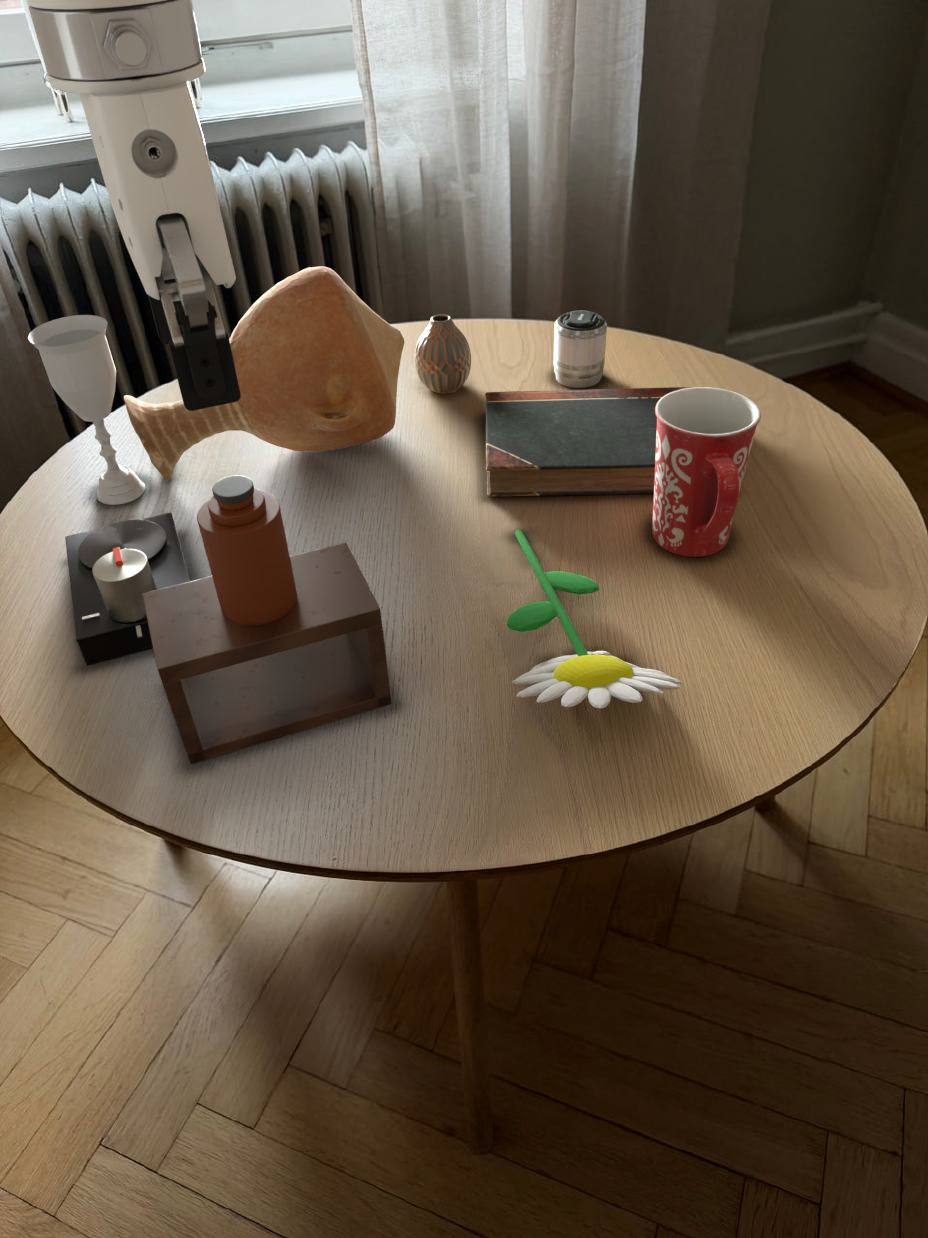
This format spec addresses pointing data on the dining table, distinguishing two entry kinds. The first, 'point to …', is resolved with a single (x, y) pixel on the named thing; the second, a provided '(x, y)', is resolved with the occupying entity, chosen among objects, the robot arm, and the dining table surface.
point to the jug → (293, 376)
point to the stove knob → (124, 583)
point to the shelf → (270, 657)
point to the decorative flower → (577, 651)
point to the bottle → (247, 552)
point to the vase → (442, 356)
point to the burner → (123, 540)
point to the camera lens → (579, 348)
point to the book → (572, 441)
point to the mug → (700, 467)
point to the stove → (91, 618)
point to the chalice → (87, 389)
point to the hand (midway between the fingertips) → (198, 369)
